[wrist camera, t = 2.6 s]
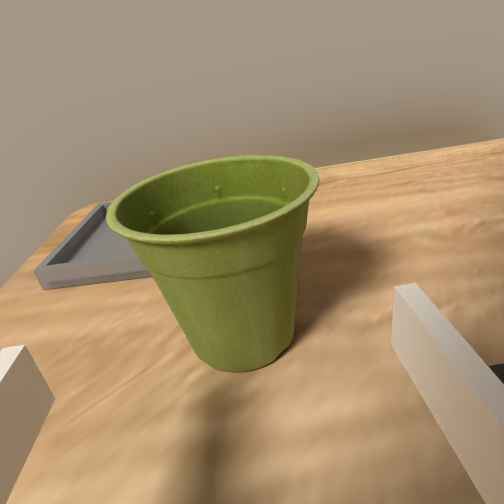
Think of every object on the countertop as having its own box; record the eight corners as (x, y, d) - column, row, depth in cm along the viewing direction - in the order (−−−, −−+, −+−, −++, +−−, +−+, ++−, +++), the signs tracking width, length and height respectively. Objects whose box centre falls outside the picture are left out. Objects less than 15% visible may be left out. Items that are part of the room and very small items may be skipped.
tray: (104, 218, 51) (98, 203, 50) (226, 201, 50) (223, 186, 49) (43, 289, 36) (33, 271, 35) (214, 269, 35) (210, 248, 34)
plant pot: (144, 324, 29) (94, 188, 24) (275, 272, 33) (258, 145, 28) (188, 445, 20) (122, 265, 14) (366, 353, 23) (368, 182, 18)
